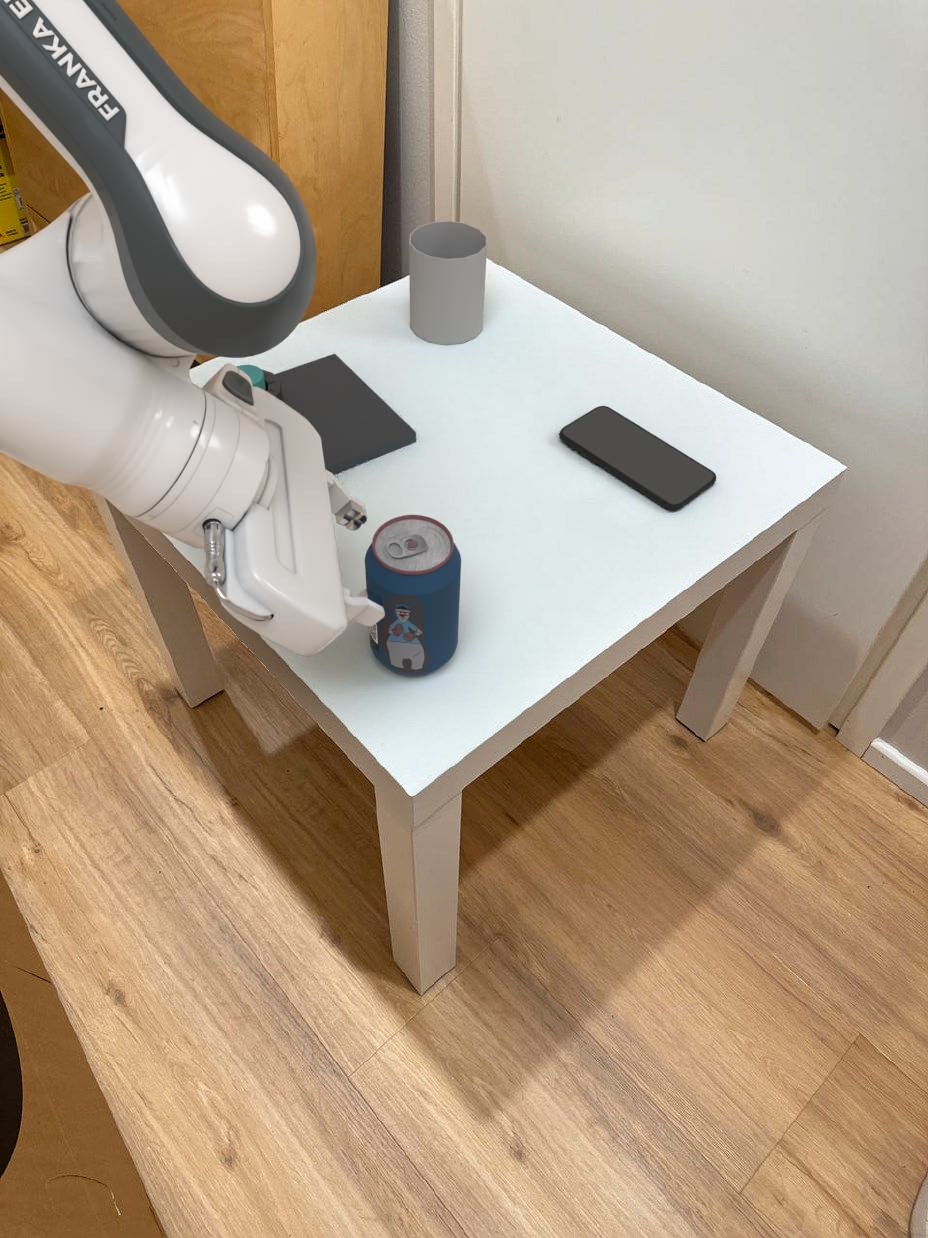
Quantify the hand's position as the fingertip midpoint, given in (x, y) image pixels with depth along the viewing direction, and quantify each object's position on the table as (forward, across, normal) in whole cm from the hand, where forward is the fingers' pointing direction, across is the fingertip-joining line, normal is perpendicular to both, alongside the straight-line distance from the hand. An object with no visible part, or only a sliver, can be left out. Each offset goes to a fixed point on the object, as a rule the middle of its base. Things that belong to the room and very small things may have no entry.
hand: (368, 564), depth 65 cm
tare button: (-1, +33, +11) cm, 34 cm away
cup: (+17, +46, -3) cm, 49 cm away
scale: (+5, +30, +9) cm, 31 cm away
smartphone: (+27, +19, -13) cm, 36 cm away
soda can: (+9, -1, +5) cm, 10 cm away
